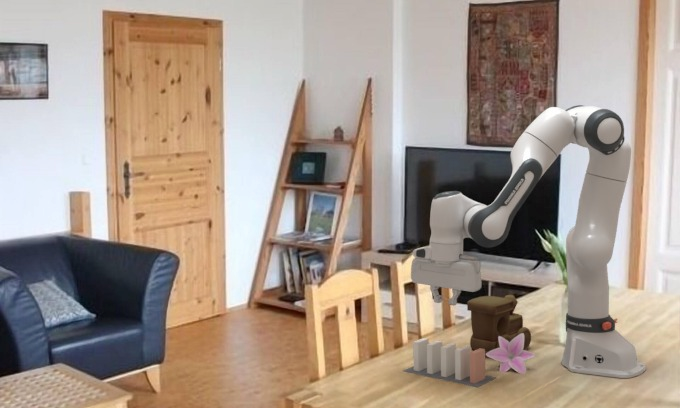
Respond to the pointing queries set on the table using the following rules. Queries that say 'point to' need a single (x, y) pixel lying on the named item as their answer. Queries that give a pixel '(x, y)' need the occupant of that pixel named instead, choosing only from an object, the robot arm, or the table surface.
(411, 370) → the domino mat
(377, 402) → the table surface
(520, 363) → the lily
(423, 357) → the domino
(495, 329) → the wooden toy train
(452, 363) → the domino
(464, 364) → the domino
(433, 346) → the domino
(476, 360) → the domino
